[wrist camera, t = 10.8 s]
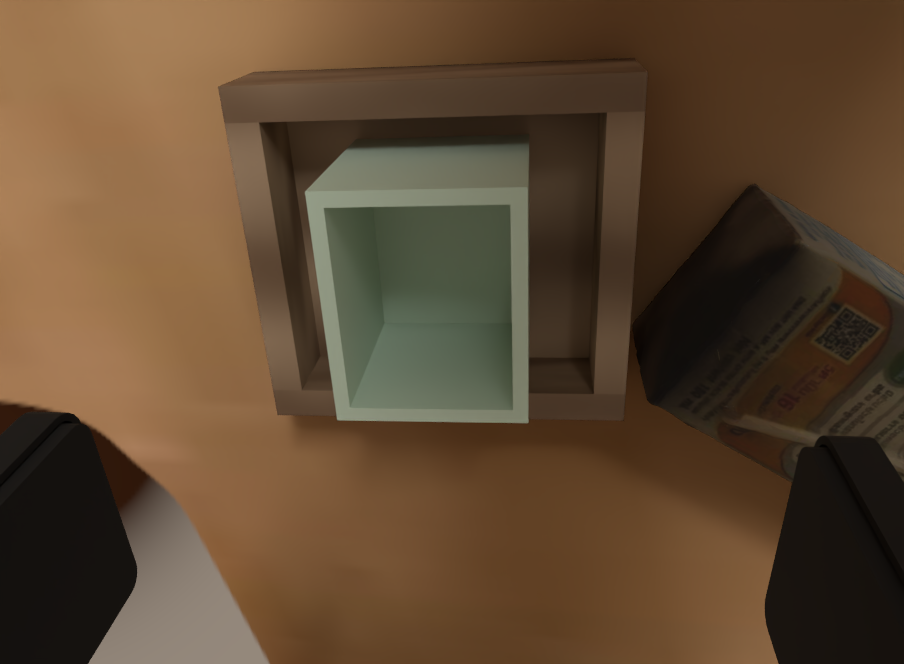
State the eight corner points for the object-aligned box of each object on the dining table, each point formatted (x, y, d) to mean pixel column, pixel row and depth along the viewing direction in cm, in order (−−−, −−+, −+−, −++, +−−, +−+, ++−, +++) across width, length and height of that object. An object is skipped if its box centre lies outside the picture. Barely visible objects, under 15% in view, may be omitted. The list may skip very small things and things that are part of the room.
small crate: (356, 139, 28) (304, 191, 22) (528, 134, 27) (527, 187, 21) (376, 328, 31) (337, 420, 25) (529, 328, 31) (528, 423, 24)
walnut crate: (253, 72, 28) (218, 87, 25) (634, 58, 26) (647, 71, 23) (301, 372, 33) (277, 415, 30) (614, 375, 32) (623, 420, 29)
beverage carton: (961, 528, 34) (1050, 646, 28) (616, 328, 31) (635, 413, 25) (1114, 406, 31) (1251, 512, 25) (741, 168, 28) (796, 225, 22)
